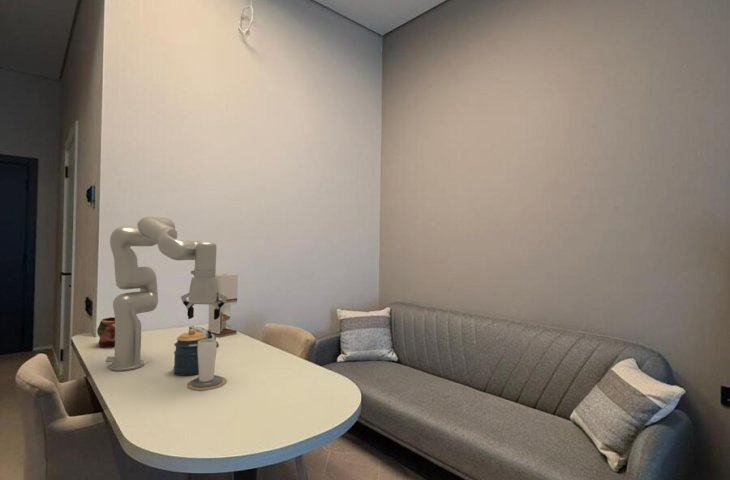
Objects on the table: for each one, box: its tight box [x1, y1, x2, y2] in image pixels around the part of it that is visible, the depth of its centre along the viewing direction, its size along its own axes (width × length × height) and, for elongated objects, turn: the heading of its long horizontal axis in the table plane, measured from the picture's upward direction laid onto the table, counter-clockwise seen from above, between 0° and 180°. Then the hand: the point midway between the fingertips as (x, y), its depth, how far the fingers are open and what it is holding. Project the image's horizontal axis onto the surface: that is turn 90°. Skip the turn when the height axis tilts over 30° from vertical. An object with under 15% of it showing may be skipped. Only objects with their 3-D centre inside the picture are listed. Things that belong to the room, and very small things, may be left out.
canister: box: [173, 329, 206, 377], centre depth 158 cm, size 13×13×18 cm
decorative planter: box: [96, 316, 115, 349], centre depth 193 cm, size 20×12×14 cm, turn 50°
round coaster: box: [186, 374, 228, 391], centre depth 144 cm, size 14×14×1 cm
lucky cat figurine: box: [188, 325, 220, 347], centre depth 191 cm, size 15×12×14 cm
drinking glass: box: [197, 339, 218, 382], centre depth 144 cm, size 7×7×15 cm
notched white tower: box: [207, 273, 239, 339], centre depth 222 cm, size 11×11×35 cm
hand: (203, 318), depth 145 cm, fingers open, 9 cm apart
